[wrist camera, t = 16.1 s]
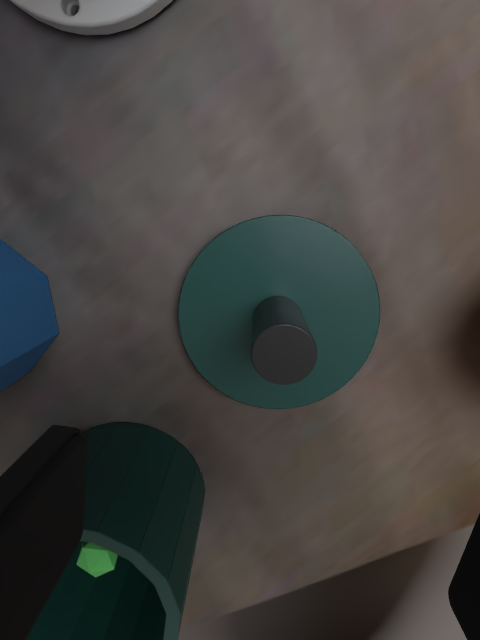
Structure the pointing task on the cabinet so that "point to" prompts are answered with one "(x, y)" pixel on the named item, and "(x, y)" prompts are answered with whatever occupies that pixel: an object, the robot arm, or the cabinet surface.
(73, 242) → the cabinet surface
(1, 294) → the water bottle
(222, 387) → the lid
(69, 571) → the tin
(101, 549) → the game piece
